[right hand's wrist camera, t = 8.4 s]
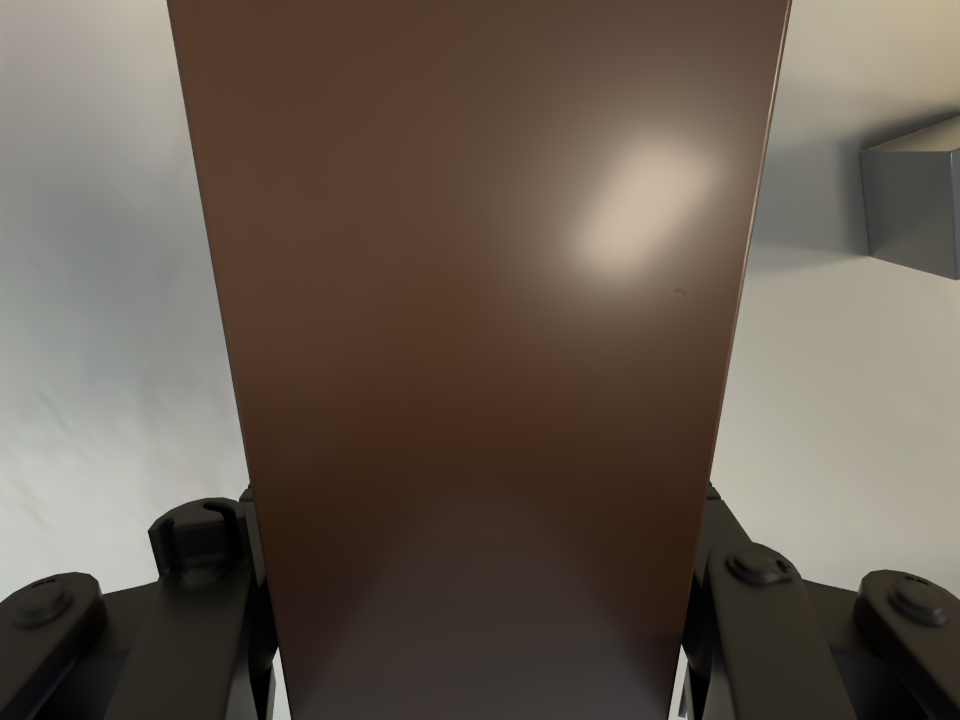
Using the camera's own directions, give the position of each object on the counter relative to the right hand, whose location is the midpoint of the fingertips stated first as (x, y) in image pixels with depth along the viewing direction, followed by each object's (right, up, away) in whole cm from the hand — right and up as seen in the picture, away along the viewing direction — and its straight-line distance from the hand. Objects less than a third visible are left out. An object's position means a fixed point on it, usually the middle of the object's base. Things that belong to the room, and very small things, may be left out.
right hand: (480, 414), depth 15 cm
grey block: (+20, +9, +10) cm, 24 cm away
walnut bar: (0, +9, -3) cm, 10 cm away
